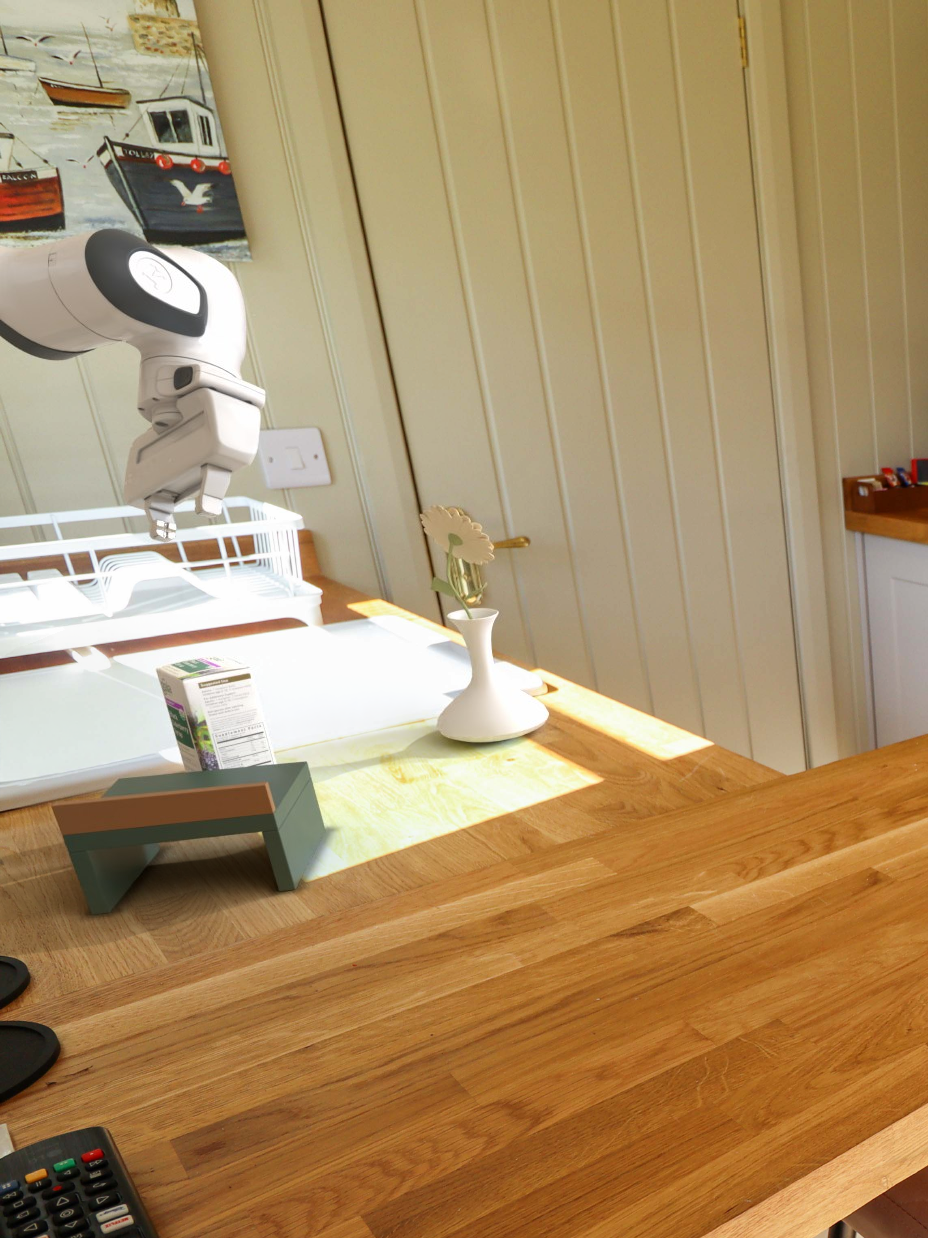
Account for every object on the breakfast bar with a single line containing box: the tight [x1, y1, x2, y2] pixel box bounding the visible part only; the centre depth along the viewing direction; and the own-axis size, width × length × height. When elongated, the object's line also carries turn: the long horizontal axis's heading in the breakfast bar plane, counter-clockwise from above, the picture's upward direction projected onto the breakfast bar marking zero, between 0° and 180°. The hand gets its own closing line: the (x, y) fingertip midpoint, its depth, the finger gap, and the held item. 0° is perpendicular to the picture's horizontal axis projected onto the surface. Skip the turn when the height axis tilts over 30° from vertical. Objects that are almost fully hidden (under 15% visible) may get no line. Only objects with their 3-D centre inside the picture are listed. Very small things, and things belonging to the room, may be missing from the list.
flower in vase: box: [419, 504, 549, 743], centre depth 126 cm, size 13×11×25 cm
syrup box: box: [155, 655, 278, 772], centre depth 107 cm, size 6×6×14 cm
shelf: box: [50, 760, 326, 916], centre depth 97 cm, size 14×12×10 cm
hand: (184, 527), depth 120 cm, fingers open, 8 cm apart
